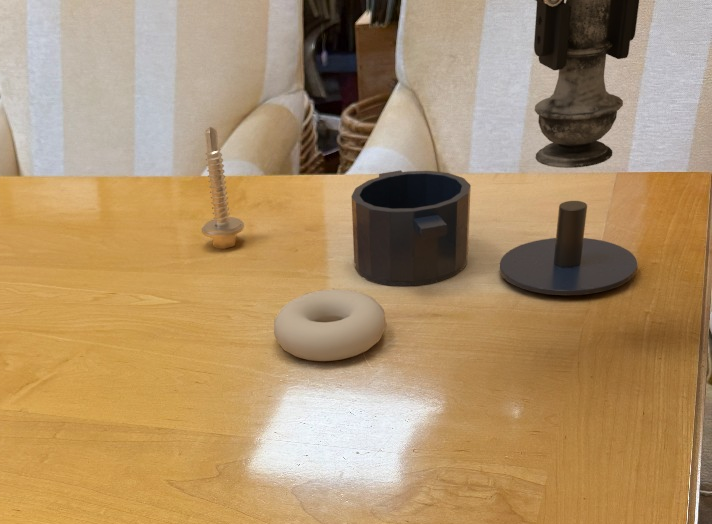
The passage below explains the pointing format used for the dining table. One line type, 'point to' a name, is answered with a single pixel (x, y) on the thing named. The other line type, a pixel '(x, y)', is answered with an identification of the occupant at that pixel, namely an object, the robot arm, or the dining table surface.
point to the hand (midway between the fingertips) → (582, 57)
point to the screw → (219, 198)
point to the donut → (329, 324)
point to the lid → (568, 259)
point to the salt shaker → (580, 93)
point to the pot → (411, 227)
